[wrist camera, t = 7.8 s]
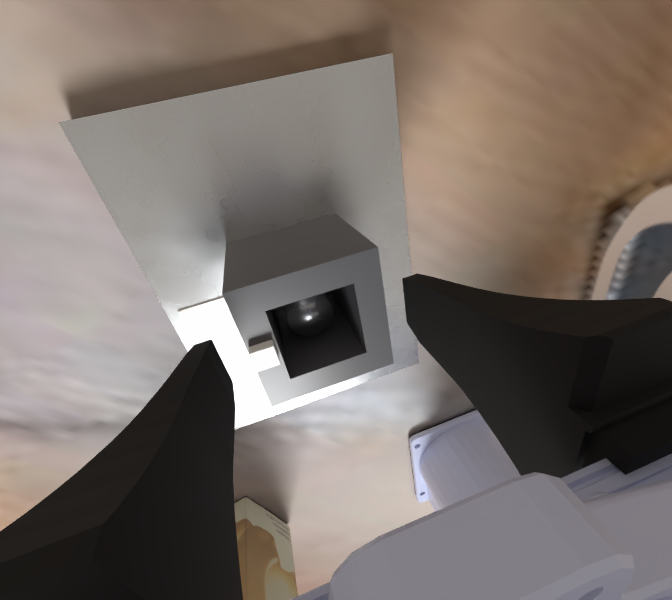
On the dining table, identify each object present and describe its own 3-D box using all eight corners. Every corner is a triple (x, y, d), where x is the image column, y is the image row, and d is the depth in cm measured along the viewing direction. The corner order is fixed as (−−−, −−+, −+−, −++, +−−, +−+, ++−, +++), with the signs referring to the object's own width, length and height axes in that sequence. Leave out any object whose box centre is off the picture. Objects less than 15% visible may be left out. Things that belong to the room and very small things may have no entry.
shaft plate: (411, 353, 21) (450, 402, 17) (232, 417, 19) (232, 487, 16) (382, 58, 13) (444, 26, 9) (72, 123, 11) (-12, 117, 7)
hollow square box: (353, 305, 17) (398, 369, 12) (261, 335, 16) (272, 415, 12) (335, 213, 14) (383, 250, 10) (226, 243, 14) (221, 299, 9)
